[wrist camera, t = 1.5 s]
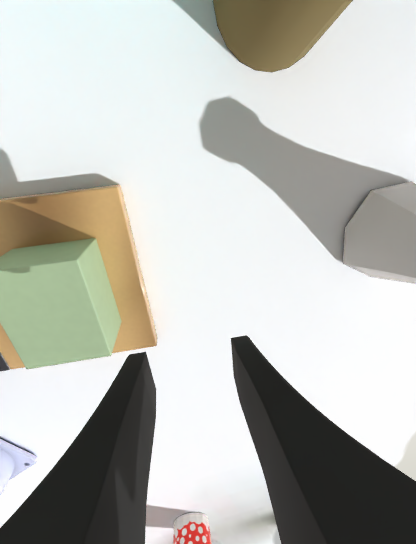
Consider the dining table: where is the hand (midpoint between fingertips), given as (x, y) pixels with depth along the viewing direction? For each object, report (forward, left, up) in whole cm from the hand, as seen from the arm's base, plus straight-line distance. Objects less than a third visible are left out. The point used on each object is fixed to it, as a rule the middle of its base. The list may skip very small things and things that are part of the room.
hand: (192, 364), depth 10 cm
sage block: (-7, +4, -8) cm, 11 cm away
